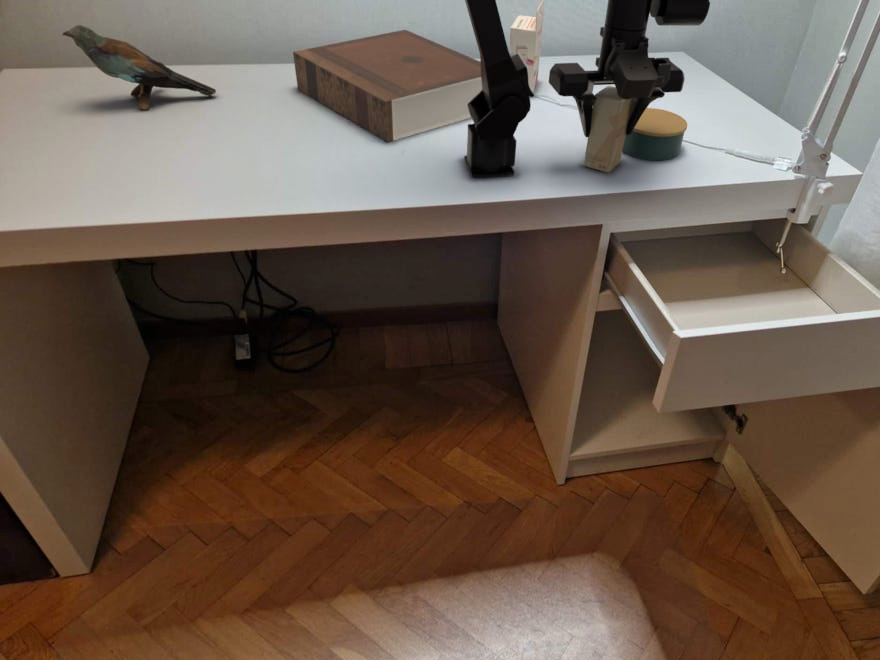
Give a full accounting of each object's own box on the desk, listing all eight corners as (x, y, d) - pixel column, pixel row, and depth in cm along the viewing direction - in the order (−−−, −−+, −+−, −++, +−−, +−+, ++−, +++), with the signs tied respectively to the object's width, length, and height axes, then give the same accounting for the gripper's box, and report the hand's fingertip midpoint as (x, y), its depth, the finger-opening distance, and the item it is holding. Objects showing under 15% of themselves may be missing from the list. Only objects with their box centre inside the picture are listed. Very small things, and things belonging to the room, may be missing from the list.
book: (387, 142, 110) (385, 101, 105) (297, 89, 125) (293, 51, 121) (500, 109, 122) (502, 71, 118) (406, 64, 138) (405, 29, 133)
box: (607, 173, 105) (620, 101, 97) (582, 166, 106) (593, 94, 99) (621, 161, 108) (635, 90, 101) (596, 154, 110) (608, 84, 103)
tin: (631, 162, 108) (636, 135, 105) (607, 135, 116) (612, 109, 113) (691, 159, 110) (698, 131, 107) (664, 132, 118) (670, 106, 115)
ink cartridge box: (512, 79, 134) (518, -4, 124) (537, 82, 133) (546, -1, 124) (505, 94, 128) (510, 8, 118) (531, 98, 127) (539, 11, 117)
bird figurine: (216, 80, 124) (126, -23, 110) (218, 101, 117) (123, -6, 103) (159, 123, 126) (62, 26, 112) (158, 146, 119) (55, 47, 105)
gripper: (580, 45, 86) (564, 162, 97) (715, 42, 90) (686, 155, 100) (553, 19, 94) (542, 130, 105) (678, 17, 98) (655, 124, 108)
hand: (606, 135), depth 104 cm, fingers closed on box, 6 cm apart
